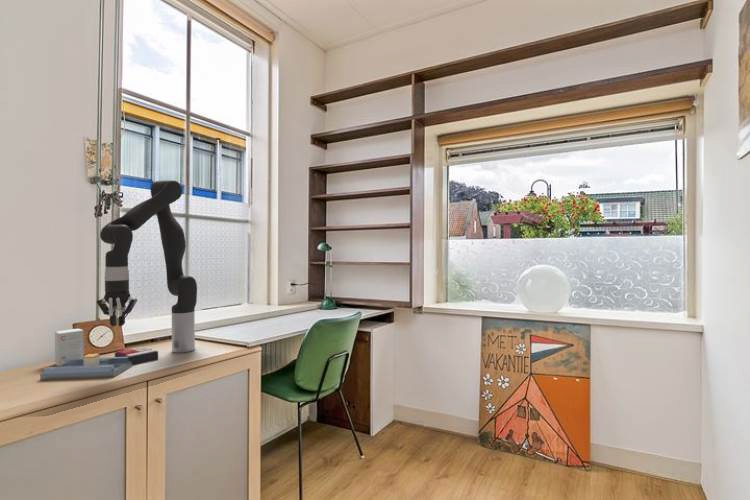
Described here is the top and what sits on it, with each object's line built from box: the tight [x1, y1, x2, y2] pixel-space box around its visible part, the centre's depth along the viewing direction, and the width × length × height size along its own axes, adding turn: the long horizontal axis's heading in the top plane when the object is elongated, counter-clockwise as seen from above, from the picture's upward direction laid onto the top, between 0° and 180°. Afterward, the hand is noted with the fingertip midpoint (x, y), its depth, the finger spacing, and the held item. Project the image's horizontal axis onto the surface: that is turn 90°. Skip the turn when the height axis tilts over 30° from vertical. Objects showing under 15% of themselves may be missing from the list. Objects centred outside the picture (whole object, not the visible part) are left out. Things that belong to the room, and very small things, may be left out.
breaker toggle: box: [83, 353, 100, 366], centre depth 146 cm, size 4×4×4 cm
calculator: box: [114, 346, 159, 366], centre depth 164 cm, size 11×4×15 cm
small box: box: [54, 328, 85, 367], centre depth 158 cm, size 8×6×13 cm
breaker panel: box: [39, 356, 133, 381], centre depth 146 cm, size 13×24×4 cm, turn 96°
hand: (117, 325), depth 147 cm, fingers closed
